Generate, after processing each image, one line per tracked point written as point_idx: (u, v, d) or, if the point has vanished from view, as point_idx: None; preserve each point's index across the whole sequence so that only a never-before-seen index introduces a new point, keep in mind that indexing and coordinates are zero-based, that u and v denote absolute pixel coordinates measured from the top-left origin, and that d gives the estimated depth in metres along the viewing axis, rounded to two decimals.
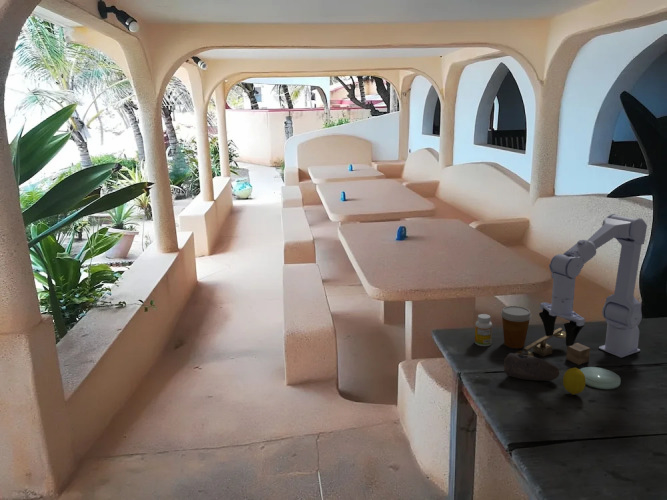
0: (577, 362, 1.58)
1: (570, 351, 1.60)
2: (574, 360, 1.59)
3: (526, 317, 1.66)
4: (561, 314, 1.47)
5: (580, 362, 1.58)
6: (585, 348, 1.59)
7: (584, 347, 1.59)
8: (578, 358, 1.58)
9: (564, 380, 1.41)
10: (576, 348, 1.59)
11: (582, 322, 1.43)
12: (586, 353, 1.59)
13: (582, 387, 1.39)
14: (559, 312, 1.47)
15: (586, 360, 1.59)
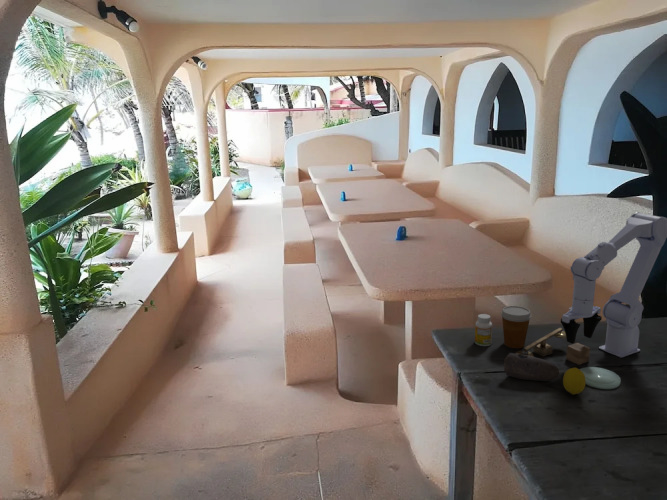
0: (577, 362, 1.58)
1: (570, 351, 1.60)
2: (574, 360, 1.59)
3: (526, 317, 1.66)
4: (570, 310, 1.58)
5: (580, 362, 1.58)
6: (585, 348, 1.59)
7: (584, 347, 1.59)
8: (578, 358, 1.58)
9: (564, 380, 1.41)
10: (576, 348, 1.59)
11: (564, 319, 1.54)
12: (586, 353, 1.59)
13: (582, 387, 1.39)
14: (571, 308, 1.58)
15: (586, 360, 1.59)
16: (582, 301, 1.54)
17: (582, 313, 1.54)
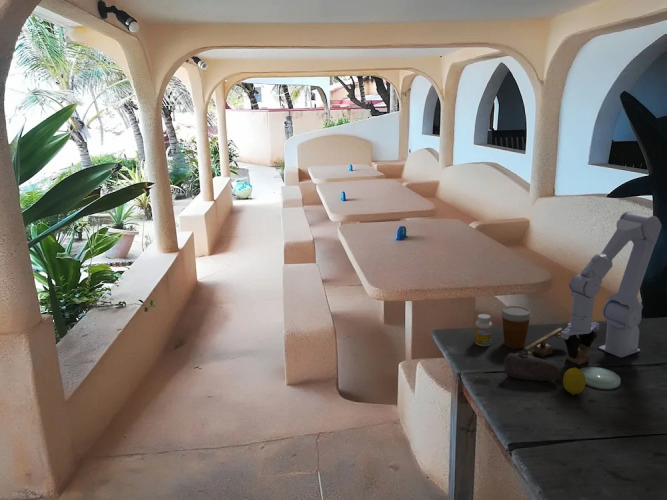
0: (577, 362, 1.58)
1: None
2: (574, 360, 1.59)
3: (526, 317, 1.67)
4: (569, 326, 1.59)
5: (580, 362, 1.58)
6: (585, 348, 1.59)
7: (584, 347, 1.59)
8: (578, 358, 1.58)
9: (564, 380, 1.41)
10: None
11: (563, 335, 1.55)
12: (586, 353, 1.59)
13: (582, 387, 1.39)
14: (570, 324, 1.60)
15: (586, 360, 1.59)
16: (580, 318, 1.55)
17: (581, 329, 1.56)
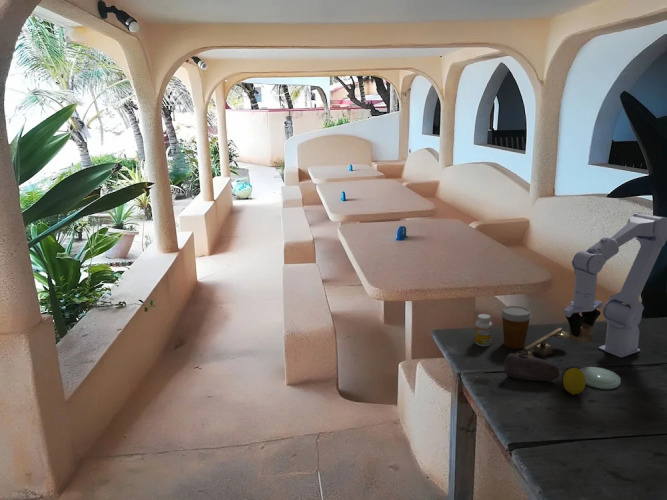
0: (580, 340, 1.56)
1: None
2: (577, 339, 1.57)
3: (526, 317, 1.66)
4: (572, 304, 1.57)
5: (583, 340, 1.56)
6: (588, 326, 1.57)
7: (587, 325, 1.57)
8: (581, 336, 1.56)
9: (564, 380, 1.41)
10: None
11: (565, 313, 1.53)
12: (589, 331, 1.56)
13: (582, 387, 1.39)
14: (573, 302, 1.57)
15: (589, 339, 1.57)
16: (583, 295, 1.53)
17: (583, 307, 1.53)
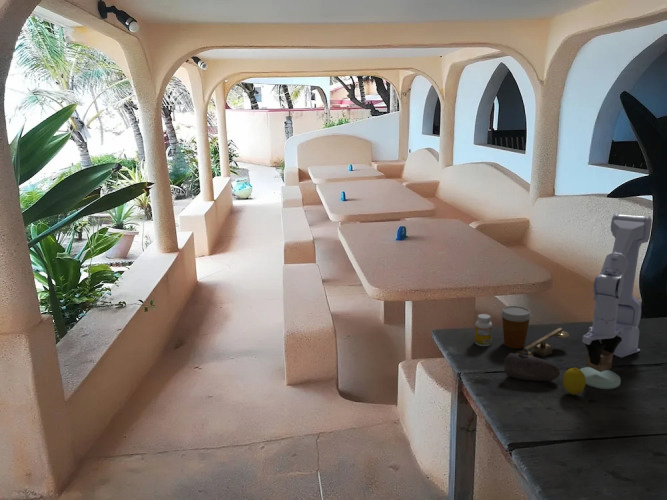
0: (599, 369, 1.46)
1: None
2: (596, 367, 1.47)
3: (526, 317, 1.66)
4: (591, 330, 1.47)
5: (602, 369, 1.46)
6: (607, 354, 1.46)
7: (606, 353, 1.47)
8: (600, 364, 1.45)
9: (564, 380, 1.41)
10: None
11: (585, 340, 1.43)
12: (608, 359, 1.46)
13: (582, 387, 1.39)
14: (592, 328, 1.47)
15: (608, 367, 1.47)
16: (604, 321, 1.42)
17: (604, 334, 1.43)
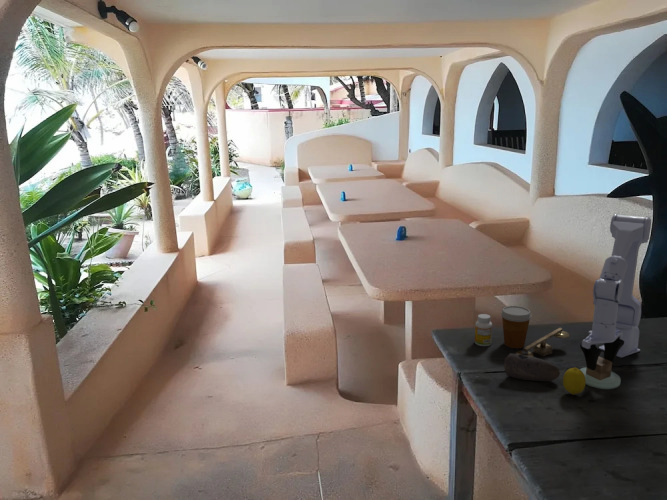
0: (598, 377, 1.47)
1: None
2: (595, 375, 1.47)
3: (526, 317, 1.66)
4: (590, 334, 1.47)
5: (601, 377, 1.47)
6: (607, 362, 1.47)
7: (605, 361, 1.48)
8: (599, 373, 1.46)
9: (564, 380, 1.41)
10: (597, 362, 1.47)
11: (584, 344, 1.43)
12: (608, 367, 1.47)
13: (582, 387, 1.39)
14: (591, 332, 1.47)
15: (608, 375, 1.48)
16: (604, 325, 1.43)
17: (604, 338, 1.43)
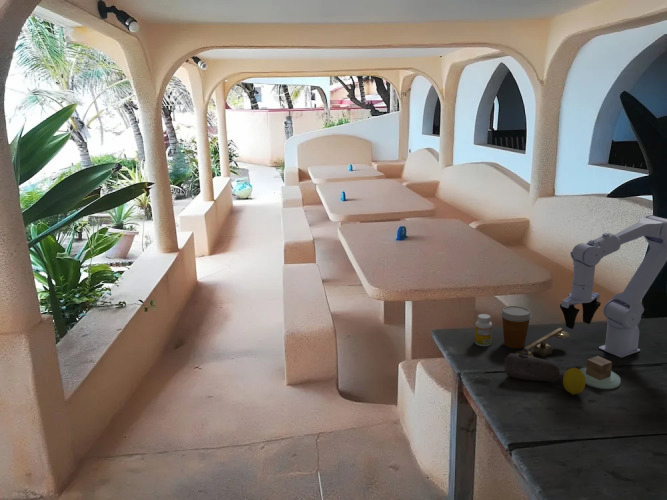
0: (598, 377, 1.47)
1: (590, 365, 1.48)
2: (595, 375, 1.47)
3: (526, 317, 1.66)
4: (570, 296, 1.60)
5: (601, 377, 1.47)
6: (607, 362, 1.47)
7: (605, 361, 1.48)
8: (599, 373, 1.46)
9: (564, 380, 1.41)
10: (597, 362, 1.47)
11: (564, 304, 1.56)
12: (608, 367, 1.47)
13: (582, 387, 1.39)
14: (571, 294, 1.60)
15: (608, 375, 1.48)
16: (581, 286, 1.55)
17: (581, 298, 1.56)
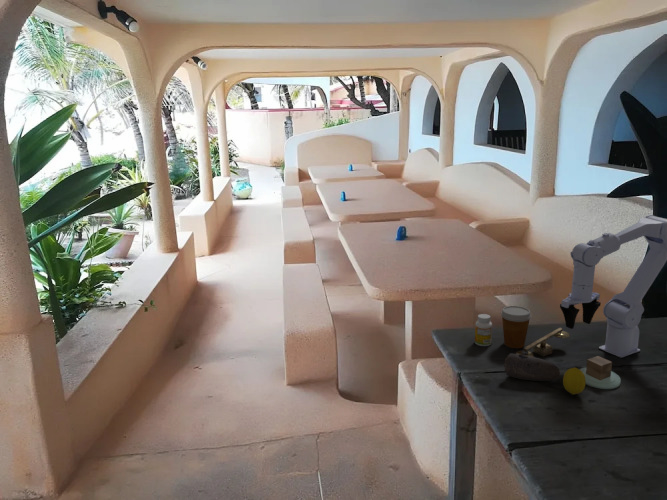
0: (598, 377, 1.47)
1: (590, 365, 1.48)
2: (595, 375, 1.47)
3: (526, 317, 1.66)
4: (570, 296, 1.60)
5: (601, 377, 1.47)
6: (607, 362, 1.47)
7: (605, 361, 1.48)
8: (599, 373, 1.46)
9: (564, 380, 1.41)
10: (597, 362, 1.47)
11: (564, 304, 1.56)
12: (608, 367, 1.47)
13: (582, 387, 1.39)
14: (571, 294, 1.60)
15: (608, 375, 1.48)
16: (581, 286, 1.55)
17: (581, 298, 1.56)
